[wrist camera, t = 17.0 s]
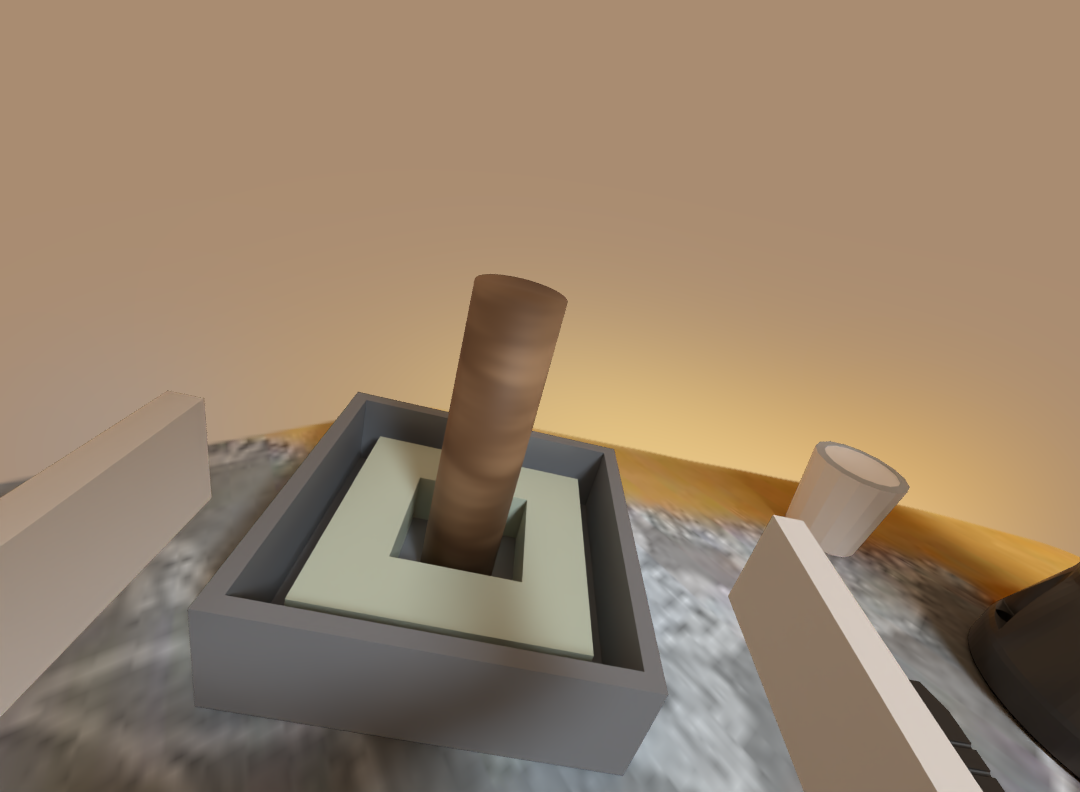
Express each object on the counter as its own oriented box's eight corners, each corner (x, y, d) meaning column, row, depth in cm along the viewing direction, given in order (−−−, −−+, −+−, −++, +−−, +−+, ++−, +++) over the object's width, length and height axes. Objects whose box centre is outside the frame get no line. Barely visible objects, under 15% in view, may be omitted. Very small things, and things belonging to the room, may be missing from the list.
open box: (591, 511, 37) (614, 449, 35) (623, 775, 22) (668, 695, 19) (351, 460, 36) (358, 391, 34) (195, 706, 20) (187, 608, 18)
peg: (495, 548, 30) (566, 289, 23) (487, 602, 27) (569, 315, 20) (428, 535, 30) (480, 267, 23) (411, 588, 26) (468, 290, 19)
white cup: (762, 514, 43) (800, 445, 40) (802, 498, 47) (839, 435, 44) (840, 573, 38) (890, 500, 35) (876, 550, 42) (923, 482, 39)
